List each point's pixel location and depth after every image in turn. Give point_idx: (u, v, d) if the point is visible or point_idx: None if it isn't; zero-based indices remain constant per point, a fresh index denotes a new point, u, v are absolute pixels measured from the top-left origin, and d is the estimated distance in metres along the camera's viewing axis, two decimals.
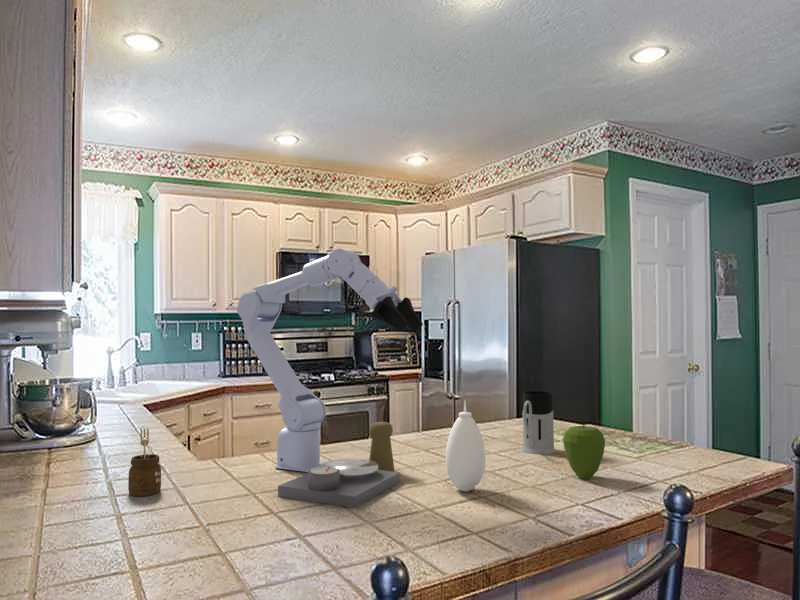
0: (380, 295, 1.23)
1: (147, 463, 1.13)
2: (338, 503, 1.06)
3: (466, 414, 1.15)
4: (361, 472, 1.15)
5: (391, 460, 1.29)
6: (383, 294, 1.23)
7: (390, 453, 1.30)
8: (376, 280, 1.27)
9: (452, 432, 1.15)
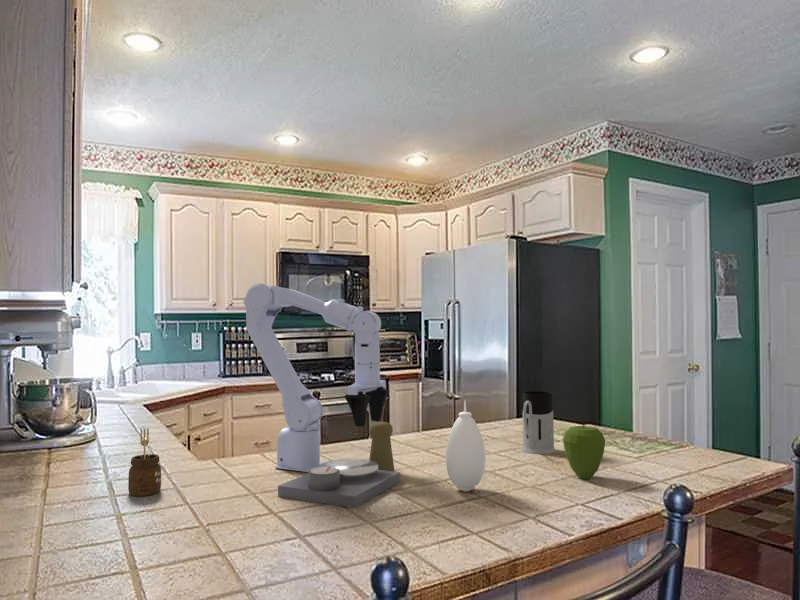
0: (364, 387, 1.28)
1: (147, 462, 1.13)
2: (338, 503, 1.06)
3: (466, 414, 1.15)
4: (361, 472, 1.15)
5: (391, 460, 1.29)
6: (368, 387, 1.29)
7: (390, 453, 1.30)
8: (375, 367, 1.31)
9: (452, 432, 1.15)
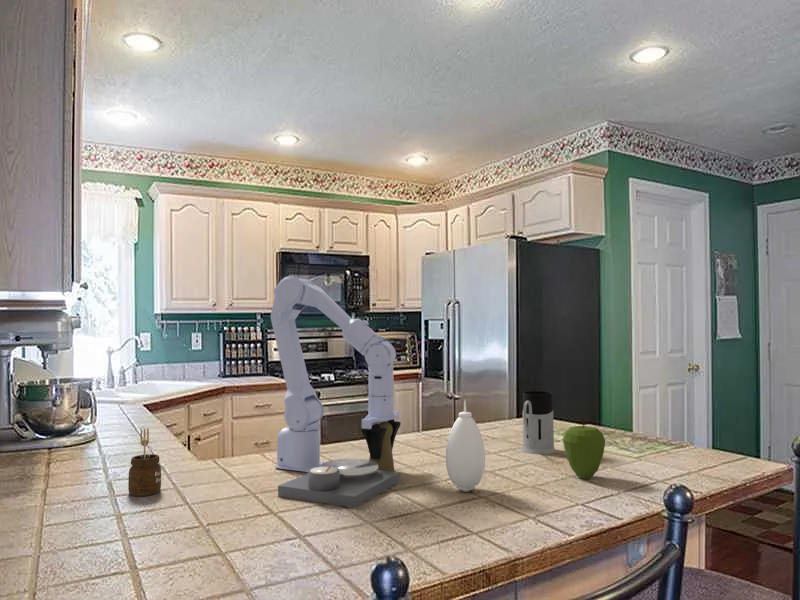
0: (378, 421, 1.26)
1: (147, 463, 1.13)
2: (338, 503, 1.06)
3: (466, 414, 1.15)
4: (361, 472, 1.15)
5: (391, 460, 1.29)
6: (381, 420, 1.27)
7: (390, 453, 1.29)
8: (389, 399, 1.29)
9: (452, 432, 1.15)
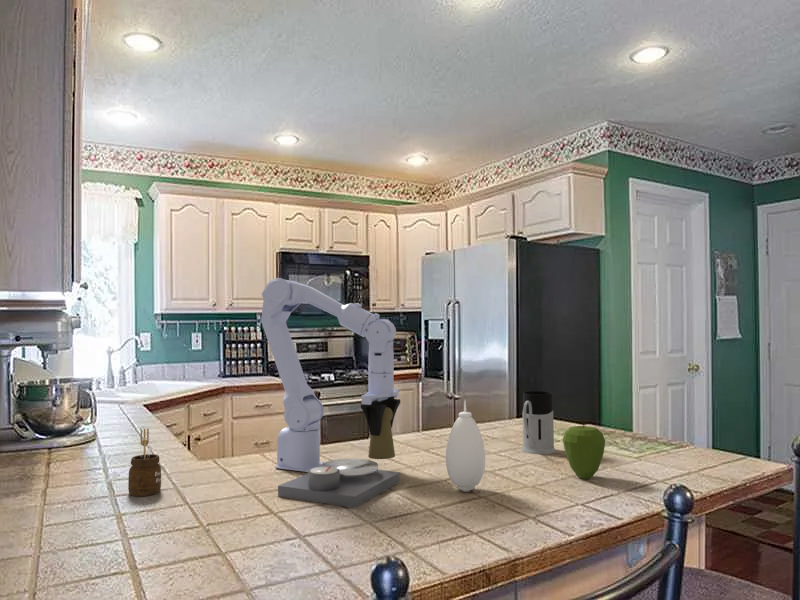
0: (377, 397, 1.26)
1: (147, 463, 1.13)
2: (338, 503, 1.06)
3: (466, 414, 1.15)
4: (361, 472, 1.15)
5: (391, 444, 1.29)
6: (381, 396, 1.27)
7: (390, 437, 1.29)
8: (388, 376, 1.29)
9: (452, 432, 1.15)
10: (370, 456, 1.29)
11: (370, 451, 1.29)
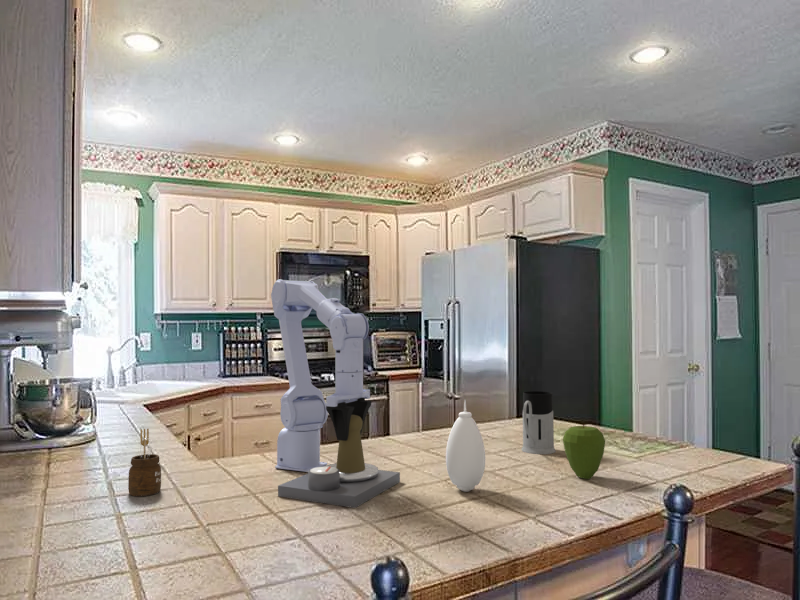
0: (344, 398, 1.16)
1: (147, 463, 1.13)
2: (338, 503, 1.06)
3: (466, 414, 1.15)
4: (361, 476, 1.15)
5: (360, 456, 1.18)
6: (348, 398, 1.16)
7: (360, 448, 1.19)
8: (357, 375, 1.18)
9: (452, 432, 1.15)
10: None
11: (337, 464, 1.18)
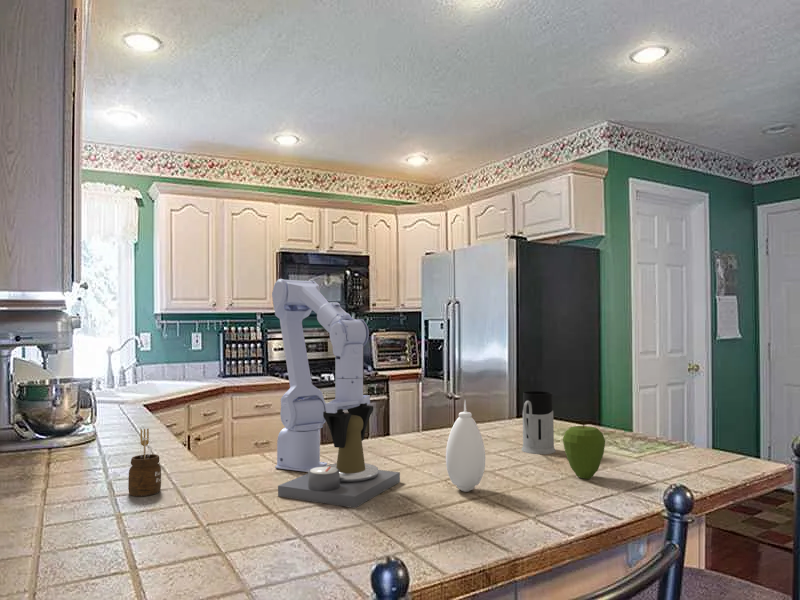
0: (344, 404, 1.16)
1: (147, 463, 1.13)
2: (338, 503, 1.06)
3: (466, 414, 1.15)
4: (361, 476, 1.15)
5: (361, 457, 1.18)
6: (348, 404, 1.16)
7: (360, 449, 1.19)
8: (357, 381, 1.18)
9: (452, 432, 1.15)
10: None
11: (338, 464, 1.18)
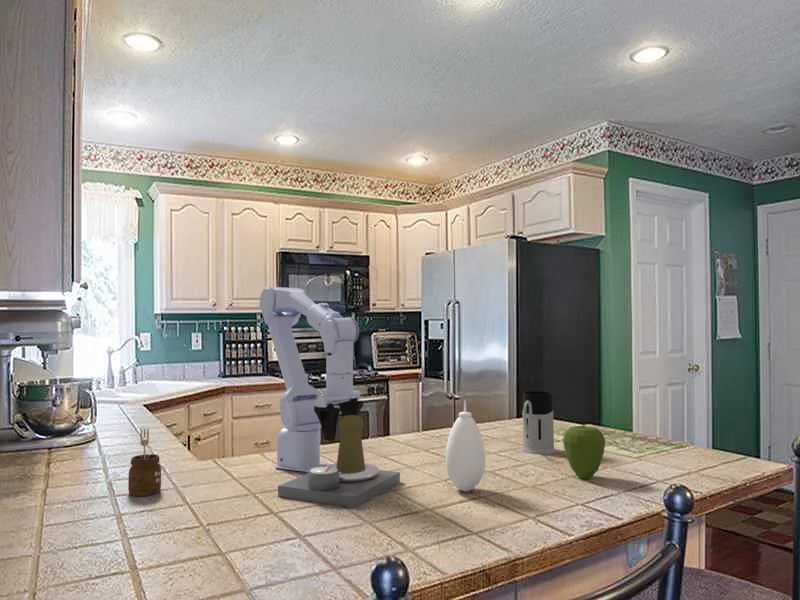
0: (334, 399, 1.20)
1: (147, 463, 1.13)
2: (338, 503, 1.06)
3: (466, 414, 1.15)
4: (361, 476, 1.15)
5: (361, 457, 1.18)
6: (338, 399, 1.21)
7: (360, 449, 1.19)
8: (347, 377, 1.23)
9: (452, 432, 1.15)
10: None
11: (338, 464, 1.18)
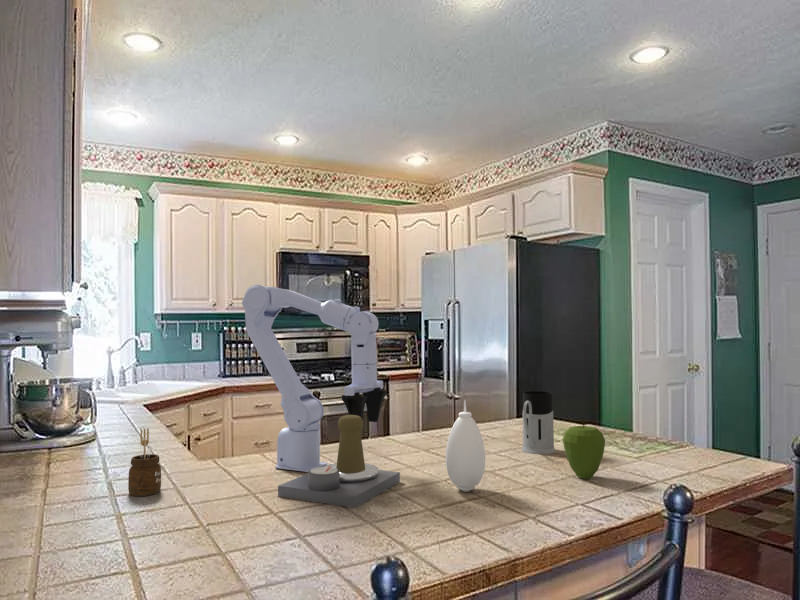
0: (361, 388, 1.27)
1: (147, 463, 1.13)
2: (338, 503, 1.06)
3: (466, 414, 1.15)
4: (361, 476, 1.15)
5: (361, 456, 1.18)
6: (364, 387, 1.28)
7: (360, 449, 1.19)
8: (371, 367, 1.30)
9: (452, 432, 1.15)
10: None
11: (338, 464, 1.18)
